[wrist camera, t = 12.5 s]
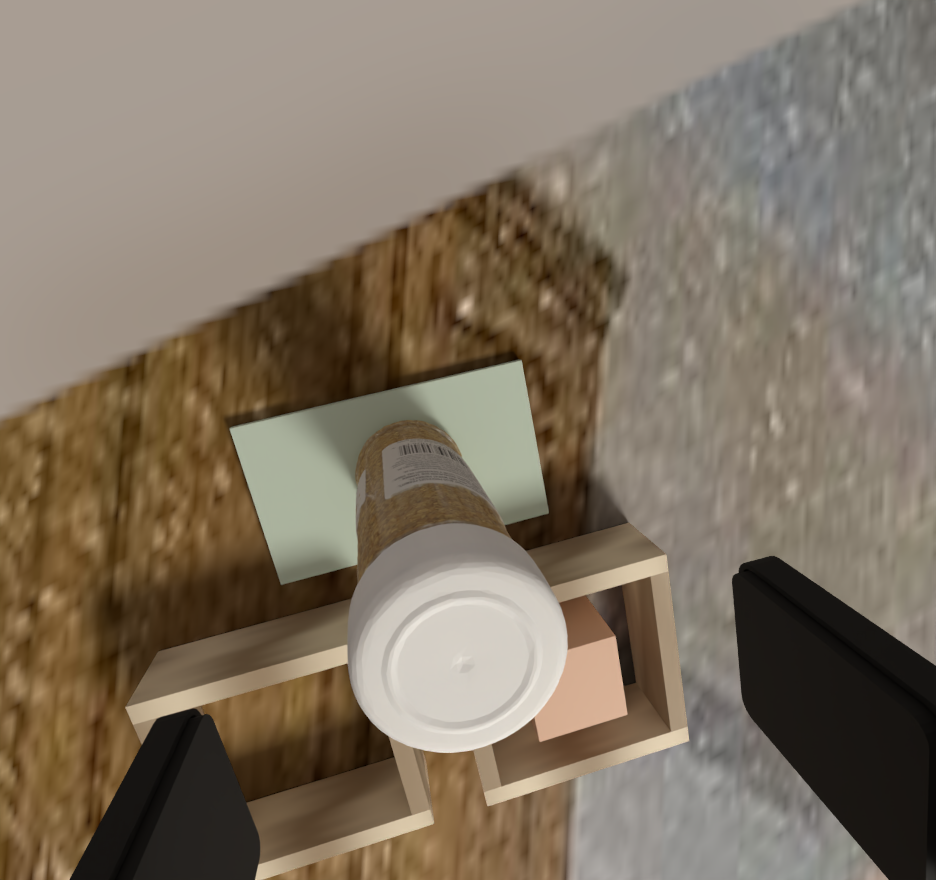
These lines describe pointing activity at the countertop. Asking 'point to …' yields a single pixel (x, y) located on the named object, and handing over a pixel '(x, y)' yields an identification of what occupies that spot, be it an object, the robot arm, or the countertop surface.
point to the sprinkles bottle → (444, 601)
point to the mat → (341, 440)
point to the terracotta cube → (584, 676)
